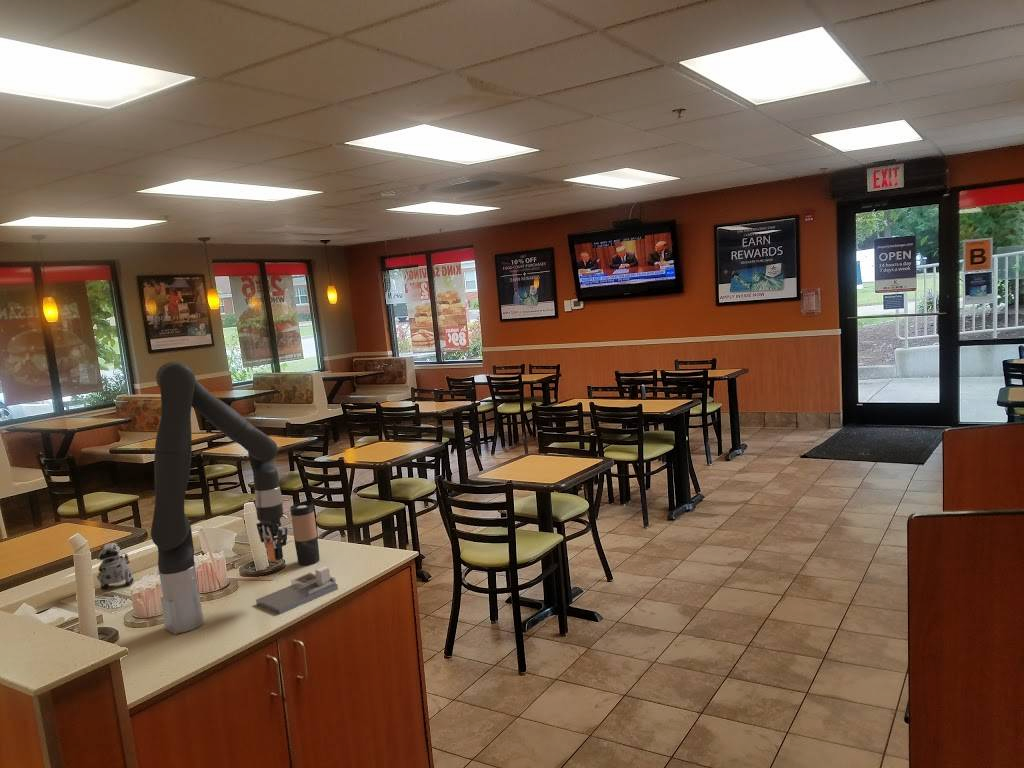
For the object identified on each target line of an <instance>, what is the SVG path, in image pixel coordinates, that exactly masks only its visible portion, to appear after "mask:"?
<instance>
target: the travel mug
mask: <svg viewBox="0 0 1024 768" xmlns="http://www.w3.org/2000/svg"><path fill="white" fill-rule="evenodd" d="M289 510H290V517H291V518H290V519H291V524H292V530H293V538H294V544H295V545H294V547H295V551H296V552H295V553H296V557H297V563H298V565H299V566H302V567H303V566H304V567H305V566H311V565H314V564H317V563H318V562H320V559H321V558H320V551H319V550H320V549H319V540H318V530H317V525H316V517H315V509H314V504H313V502H309V501H308V502H300V503H296V504H293V505H291V506H290V507H289Z"/></svg>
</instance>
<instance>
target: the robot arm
mask: <svg viewBox="0 0 1024 768" xmlns="http://www.w3.org/2000/svg"><path fill="white" fill-rule="evenodd" d="M155 377H156V378H155V380H156V384H157V386H158V388H159V390H160V401H161V402H160V403H161V404H160V405H161V407H160V408H161V414H160V419H159V420H160V421H159V425H158V429H157V432H156V438H155V444H154V445H155V446H154V459H153V460H154V461H153V464H154V473H153V474H154V493H155V498H154V499H155V501H154V508H153V509H154V510H153V515H152V522H151V529H150V537H151V540H152V542H153V543H154V545H155V546H156V547H157V555H158V557H157V559H158V560H157V569H158V574H159V580H160V585H161V587H160V588H161V593H162V597H160V603H161V604H160V605H161V609H162V614H163V621H164V622H163V623H164V628H165V630H166V631H167V632H169V633H171V634H173V635H177V634H180V633H185V632H189V631H192V630H195V629H197V628H199V627H200V626H202V625H203V624H204V615H203V614H204V613H203V607H202V603H201V595H200V591H199V590H200V589H199V582H198V577H197V570H196V563H195V548H194V540H193V531H192V526H191V521H190V519H189V517H188V516H187V515H186V514H185V499H186V497H185V496H186V492H187V487H188V484H189V479H190V473H191V465H192V450H193V449H192V446H193V445H192V441H193V440H192V439H193V438H192V437H193V436H192V421H191V420H192V418H191V417H192V416H191V415H192V414H191V413H192V408H193V409H194V410H195V411H197V412H198V413H199V414H200V415H201V416H202V417H204V418H205V419H206V420H207V421H208V422H209V423H210V424H211V425H212V426H214V428H216V429H217V430H218V431H220V433H222V434H224V435H225V436H226V437H227V438H228V439H230V441H232V442H235V443H237V444H238V445H239V446H241V447H242V448H243V449H244V450H246V451H247V454H248V458H249V463H250V467H251V470H252V475H253V486H254V501H255V502H254V503H255V511H256V518H257V519H256V520H257V521H259V522H258V523H256V524H255V525H256V530H257V533H258V535H259V538H260V539H259V540H260V543H263V545H264V546H265V550H266V557H267V558H268V552H267V543H268V542H269V540H271V541H272V542H273V545H274V553H275V560H278V561H281V560H283V558H284V552H283V547H284V546H286V545H287V539H288V527H283V526H282V522H281V519H282V518H283V516H284V507H283V496H282V492H281V487H280V479H279V477H280V476H279V472H278V469H277V468H276V467H275V463H274V459H275V458H276V457H277V455H278V452H279V448H278V445H277V443H276V442H275V440H274V439H272V438H271V437H270V436H268V435H267V434H265V432H262V431H261V430H260V429H258V428H257V427H256V426H254V425H253V424H252V423H251V422H250V421H249V420H248V419H246V417H244V416H242V415H241V414H240V413H239V412H238V411H236V410H235V409H234V408H233V407H231V406H230V405H228V404H227V403H225V402H224V401H222V400H221V399H220V398H218V397H216V396H215V395H214V394H213V393H212V392H210V391H209V390H208V389H207V388H206V387H204V386H203V385H202V384H201V383H200V382H199V380H197V378H196V376H195V372H194V371H193V370H192V368H191V367H189V366H187V365H186V364H184V363H182V362H178V361H172V362H171V361H170V362H167V363H164V364H163V365H161V366H160V367H159V368H158V370H157V372H156V376H155ZM276 540H277V543H276ZM280 559H281V560H280Z"/></svg>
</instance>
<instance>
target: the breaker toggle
mask: <svg viewBox="0 0 1024 768" xmlns="http://www.w3.org/2000/svg"><path fill="white" fill-rule="evenodd" d="M314 571H315V575H316V580H317V585H318V586H321V585H324V584H325V583H328V582H330V581H331V580H330V577H331V573H330V572H331V571H330V568H329V567H328V566H321V567H319V568H316V569H314Z"/></svg>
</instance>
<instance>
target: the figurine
mask: <svg viewBox="0 0 1024 768" xmlns="http://www.w3.org/2000/svg"><path fill="white" fill-rule="evenodd" d="M99 548H100V549H101V550H100V552H99V554H98V556H97V558H96V561H97V560H98V561H101V562H100V564H99V567H98V575H96V578H97V580H98V582H99V583H100V590H106V589H107V588H108V587H109V585H112V584H119V583H121V582H123V581H125V583H124V584H125V586H126V587H130V586H131V585H132V584H133V583H134V581H135V579H134V577H133V573H132V571H131V569H130V568H128V565H127V564H130V562H131V561H130V560H129V556H128V553H125V552H124V553H122V554H121V555H120V550H121V547H120V546H118V544H117V543H115V542H109V543H106V544H104V546H100V547H99ZM123 555H124V556H123Z"/></svg>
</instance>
